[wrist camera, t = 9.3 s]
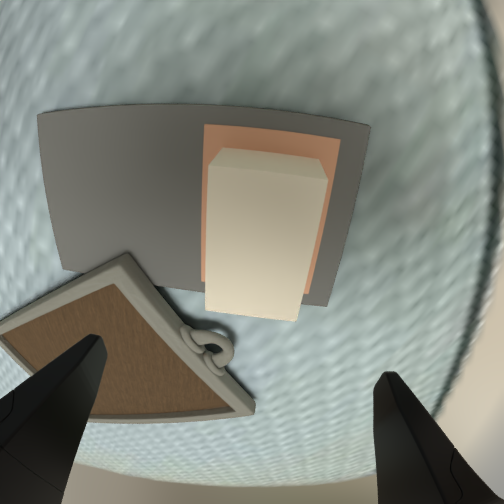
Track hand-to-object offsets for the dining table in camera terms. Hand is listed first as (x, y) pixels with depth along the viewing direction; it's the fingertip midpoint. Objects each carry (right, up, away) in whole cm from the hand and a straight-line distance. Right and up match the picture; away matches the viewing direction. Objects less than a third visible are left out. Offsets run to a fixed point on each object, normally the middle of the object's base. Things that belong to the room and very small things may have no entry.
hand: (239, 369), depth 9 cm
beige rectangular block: (+1, +5, +9) cm, 10 cm away
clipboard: (-14, -8, +19) cm, 25 cm away
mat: (-4, +6, +9) cm, 12 cm away
